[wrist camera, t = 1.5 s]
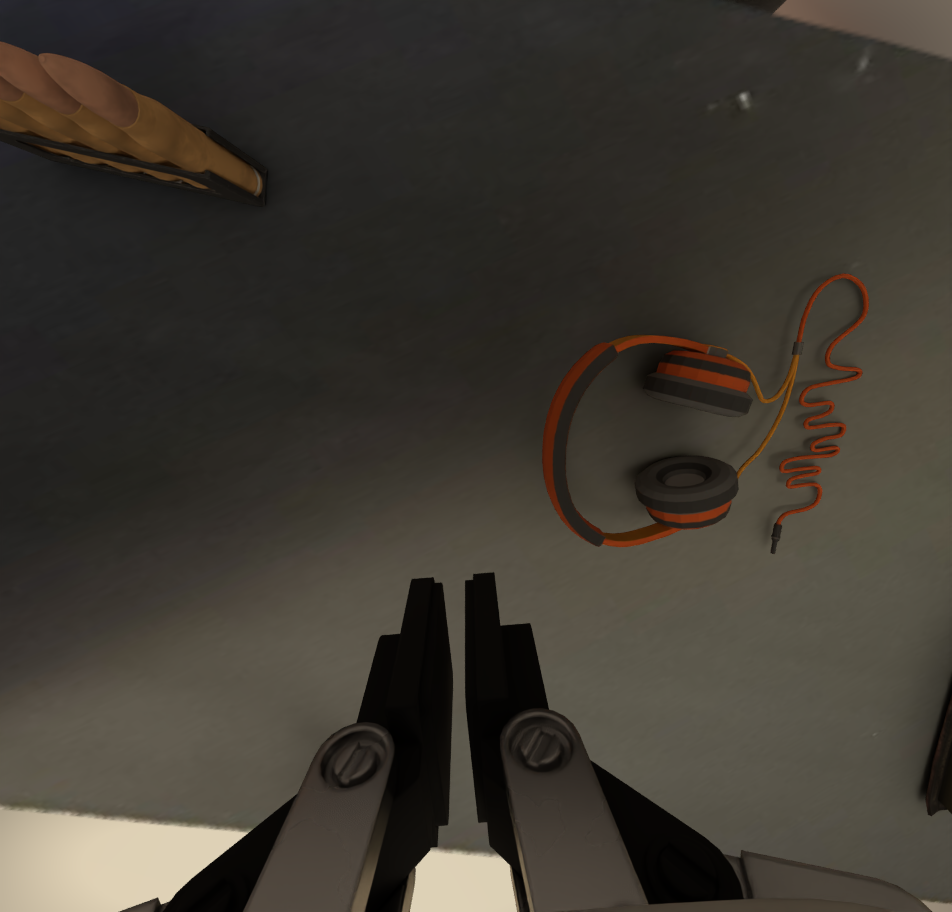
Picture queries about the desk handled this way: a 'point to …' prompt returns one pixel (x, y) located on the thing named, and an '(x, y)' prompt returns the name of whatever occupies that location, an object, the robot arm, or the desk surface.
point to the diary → (941, 770)
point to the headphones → (686, 477)
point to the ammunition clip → (115, 129)
